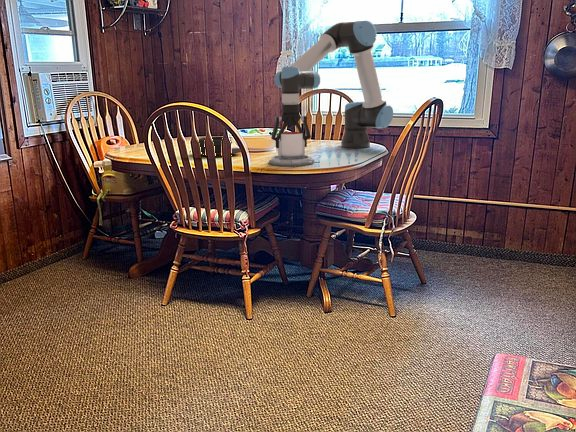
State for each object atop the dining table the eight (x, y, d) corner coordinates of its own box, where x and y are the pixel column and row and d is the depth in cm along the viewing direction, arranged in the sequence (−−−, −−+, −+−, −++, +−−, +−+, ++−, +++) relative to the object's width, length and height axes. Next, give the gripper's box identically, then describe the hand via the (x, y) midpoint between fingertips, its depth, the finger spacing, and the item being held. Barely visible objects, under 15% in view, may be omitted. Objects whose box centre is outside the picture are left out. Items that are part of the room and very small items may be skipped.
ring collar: (306, 158, 254) (306, 152, 253) (320, 165, 235) (320, 159, 235) (264, 160, 249) (264, 155, 248) (274, 167, 230) (274, 161, 230)
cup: (300, 157, 236) (300, 134, 233) (277, 157, 238) (277, 134, 235) (304, 154, 245) (304, 131, 243) (282, 154, 247) (282, 131, 245)
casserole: (243, 152, 276) (242, 135, 274) (238, 158, 258) (237, 140, 256) (194, 152, 277) (193, 136, 275) (185, 158, 259) (184, 140, 257)
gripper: (313, 102, 242) (313, 152, 248) (263, 104, 236) (264, 155, 242) (318, 103, 235) (318, 155, 241) (266, 105, 229) (268, 157, 235)
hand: (291, 155), depth 241 cm, fingers closed on cup, 10 cm apart
